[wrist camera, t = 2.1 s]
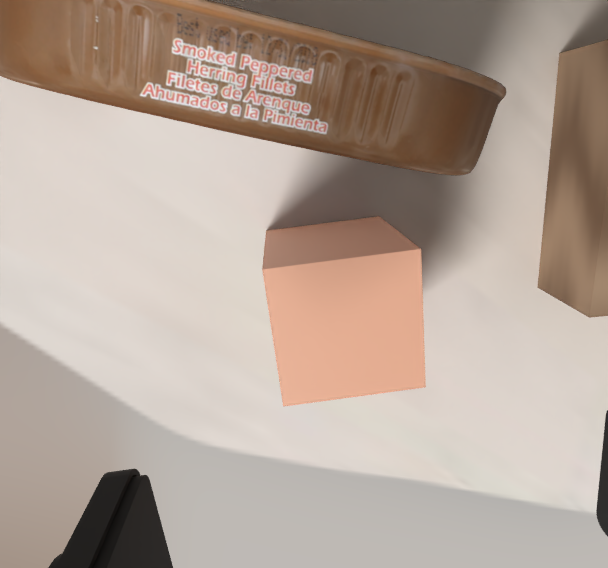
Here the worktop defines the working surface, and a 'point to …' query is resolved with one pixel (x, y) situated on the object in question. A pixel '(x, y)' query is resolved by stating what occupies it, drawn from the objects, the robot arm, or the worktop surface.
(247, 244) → the worktop surface
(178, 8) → the tin
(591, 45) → the walnut base
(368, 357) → the salmon pink block
